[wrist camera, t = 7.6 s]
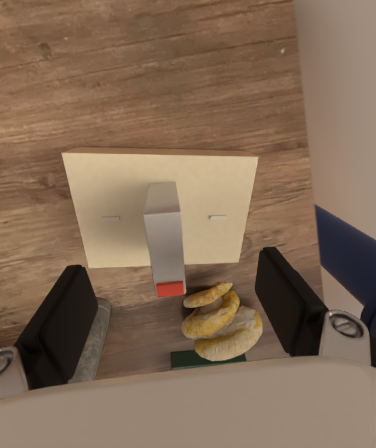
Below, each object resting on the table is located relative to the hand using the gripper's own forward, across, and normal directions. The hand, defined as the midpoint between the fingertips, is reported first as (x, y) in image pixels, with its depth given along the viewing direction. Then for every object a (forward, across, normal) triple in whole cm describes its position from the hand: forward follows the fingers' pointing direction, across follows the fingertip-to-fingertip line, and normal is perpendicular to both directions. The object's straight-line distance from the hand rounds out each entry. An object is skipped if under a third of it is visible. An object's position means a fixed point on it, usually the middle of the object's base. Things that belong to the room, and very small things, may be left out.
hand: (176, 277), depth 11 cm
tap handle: (+7, +1, 0) cm, 7 cm away
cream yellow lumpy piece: (+10, -5, +15) cm, 19 cm away
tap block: (+10, +1, 0) cm, 10 cm away
